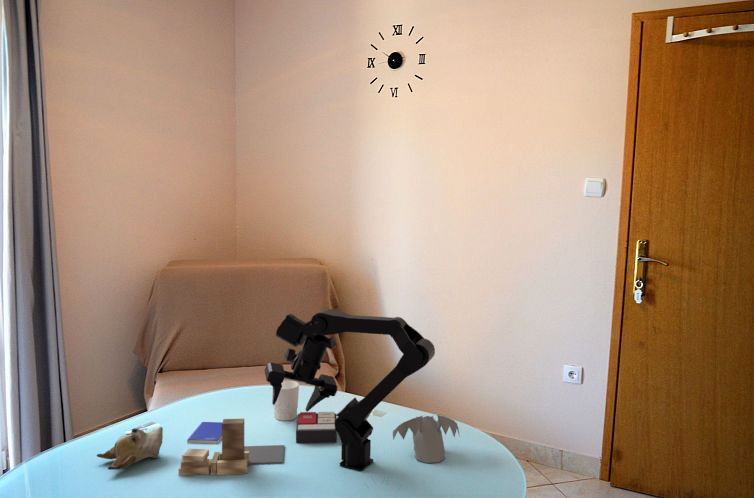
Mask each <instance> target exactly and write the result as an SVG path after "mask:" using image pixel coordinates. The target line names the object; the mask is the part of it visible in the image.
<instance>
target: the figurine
mask: <svg viewBox="0 0 754 498" xmlns="http://www.w3.org/2000/svg"><path fill="white" fill-rule="evenodd" d="M436 416H437V420H436V419H434V415H431V416H430V415H425V416H423V415H420V416H416V417H414V418H411V419H409V420H406V421H404V422H402V423H400V424H399V425H397V427H395V429H394V430H393V431H392V439H393V441H394V440H395V438H396V436H397V434H398V433H399V435H400V436H401V438H402V440H404V439H405V438H406V435H407V433H408V432H409V431H408V430H410V432H411V433H412V440H413V451H414V454H415V455H414V457H415V459H416V460H418V462H422V463H426V464H431V463H432V464H433V463H440V462H443V461H445V459H446V454H445V445H444V439H443V434H442V431H443V433H444V435H445V436H447V433H448V431H449V429H450V430H451V433H452V436H453V437H454V438H456V437H455V436H456V433H458V436H459V438H461V437H460V429H459V425H458V423H457V422H456V421H455V420H454V419H452V418H449V417H447V416H443V415H438V414H437V415H436ZM441 428H442V430H441Z"/></svg>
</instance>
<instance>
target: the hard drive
mask: <svg viewBox="0 0 754 498" xmlns="http://www.w3.org/2000/svg"><path fill="white" fill-rule="evenodd" d="M222 422H223V421H221V422H219V421H218V422H217V421H202V422H201V423H200V424H199V425H198V426H197V427H196V429H195V430H194V431H193V432H192V433H191V435H190V436H189V437H188V438H187V440H186V442H187V444H214V445H215V444H218V443H219V442H220V440H222Z"/></svg>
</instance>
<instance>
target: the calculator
mask: <svg viewBox="0 0 754 498" xmlns="http://www.w3.org/2000/svg"><path fill="white" fill-rule="evenodd" d="M336 414H337V413H335V411H318V413H317V412H316V411H308V412H307V411H305V412H304V411H301V412H299V413H297V422H296V429H295V444H331V443H332V444H335V443H336V444H337V442H338V441H337V440H338V437H337V436H338V433H337V431H336V429H335V423H334V422H335V420H336V419H337V416H336Z"/></svg>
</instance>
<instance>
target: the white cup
mask: <svg viewBox="0 0 754 498" xmlns="http://www.w3.org/2000/svg"><path fill="white" fill-rule="evenodd" d="M281 384H282V388H281V391H280V393H279V396H278V398H277V401H276V403H275V404H274V405H273V404H272V406H273V416H274V417H273V418H275V420H276V421H277V420H278V421H281V422H283V421H284V422H286V421H288V422H289V421H292V420H293V421H294V420H295V419H297V418H298V407H299V394H300V393H299V390H300V382H296V381H292V380H283V383H281Z"/></svg>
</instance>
